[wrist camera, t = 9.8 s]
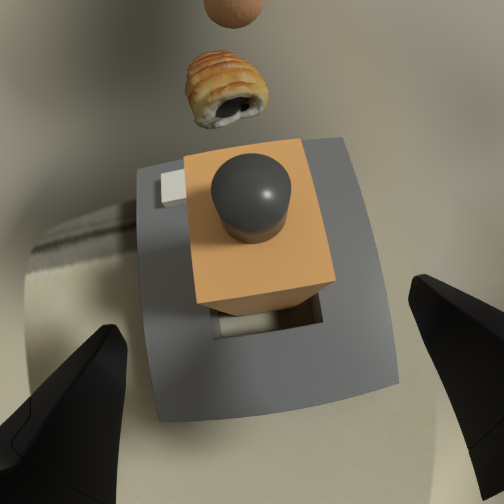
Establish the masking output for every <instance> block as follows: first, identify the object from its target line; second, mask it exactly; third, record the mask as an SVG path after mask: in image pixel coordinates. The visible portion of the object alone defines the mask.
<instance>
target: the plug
mask: <svg viewBox="0 0 504 504" xmlns="http://www.w3.org/2000/svg"><path fill="white" fill-rule="evenodd" d="M184 171H185V187H186V201H187V213H188V225H189V236H190V246H191V256H192V265H193V274H194V283H195V291H196V299H197V304H200V305H203V306H206V307H209V308H212V309H215V310H218V311H221V312H225V313H228V314H231V315H234V316H237V317H239V316H246V315H253V314H259V313H265V312H271V311H277V310H283V309H289V308H294V307H295V306H297V305H299V304H300V303H302V302H303V301H305V300H307V299H308V298H310V297H311V296H313V295H315V294H316V293H318V292H319V291H321V290H322V289H324V288H325V287H327V286H329V285H330V284H332V283H333V282H335V281H336V278H335V273H334V268H333V263H332V259H331V254H330V250H329V245H328V241H327V236H326V232H325V228H324V224H323V219H322V215H321V211H320V207H319V203H318V199H317V196H316V192H315V188H314V184H313V181H312V177H311V173H310V170H309V166H308V163H307V159H306V156H305V152H304V149H303V145H302V142H301V139H289V140H281V141H273V142H265V143H259V144H251V145H245V146H238V147H232V148H226V149H220V150H215V151H209V152H204V153H199V154H194V155H189V156H184Z"/></svg>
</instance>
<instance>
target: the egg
mask: <svg viewBox="0 0 504 504" xmlns="http://www.w3.org/2000/svg"><path fill="white" fill-rule="evenodd" d="M262 5H263V0H204V7H205V10H206V13H207V15H208V16H209V17H210V19H211V20H212V21H214V22H215V23H217V24H218V25H220V26H222V27H226V28H231V29H235V28H241V27H244V26H247V25H249V24H250V23H251V22H253V21H254V20H255V19H256V18H257V16H258V15H259V14H260V12H261V9H262Z"/></svg>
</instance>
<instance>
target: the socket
mask: <svg viewBox="0 0 504 504" xmlns="http://www.w3.org/2000/svg"><path fill="white" fill-rule="evenodd" d="M301 142H302V145H303V149H304V152H305V156H306V159H307V163H308V166H309V170H310V173H311V177H312V181H313V184H314V188H315V192H316V196H317V199H318V203H319V207H320V211H321V215H322V219H323V224H324V228H325V232H326V236H327V241H328V245H329V250H330V254H331V259H332V263H333V268H334V273H335V278H336V281H335V282H333V283H332V284H330V285H329V286H327V287H325V288H324V289H322V290H321V291H319V292H318V293H316V294H315V295H313V296H311V297H310V300H311V305H312V311H313V317H314V323H311V324H306V325H301V326H295V327H290V328H284V329H278V330H272V331H266V332H259V333H252V334H246V335H239V336H231V337H224V338H222V336H221V329H220V322H219V316H218V310H215V309H212V308H209V307H206V306H203V305H200V304H197V299H196V291H195V283H194V274H193V265H192V256H191V246H190V236H189V225H188V213H187V201H186V187H185V171H184V159H181V160H176V161H172V162H167V163H163V164H159V165H154V166H150V167H146V168H142V169H138V170H137V251H138V270H139V284H140V296H141V307H142V317H143V326H144V334H145V342H146V349H147V356H148V362H149V369H150V375H151V381H152V386H153V392H154V397H155V402H156V407H157V412H158V416H159V421H160V422H177V421H204V420H219V419H231V418H241V417H250V416H258V415H266V414H272V413H279V412H285V411H291V410H297V409H302V408H307V407H312V406H317V405H322V404H326V403H330V402H335V401H339V400H343V399H347V398H351V397H355V396H358V395H362V394H365V393H369V392H372V391H376V390H379V389H382V388H385V387H389V386H392V385H395V384H398V383H399V376H398V367H397V358H396V350H395V343H394V336H393V329H392V323H391V316H390V311H389V305H388V300H387V294H386V289H385V284H384V279H383V275H382V270H381V265H380V261H379V257H378V253H377V248H376V244H375V240H374V236H373V233H372V229H371V225H370V221H369V218H368V214H367V211H366V207H365V204H364V200H363V197H362V194H361V191H360V187H359V184H358V181H357V178H356V175H355V172H354V169H353V166H352V163H351V160H350V157H349V154H348V151H347V149H346V146H345V143H344V141H343V138H342V137H340V138H327V139H315V140H304V141H301Z"/></svg>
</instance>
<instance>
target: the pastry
mask: <svg viewBox="0 0 504 504" xmlns="http://www.w3.org/2000/svg"><path fill="white" fill-rule="evenodd" d="M185 88H186V89H185V94H186V95H187V97H188V100H189V104H190V107H191V109H192V111H193V113H194V116H195V123H196V124H197V125H198V126H200V127H204V128H206V129H209V130H212V129H217V128H220V127H224V126H227V125H229V124H231V123H233V122H235V121H237V120H239V119H242V118H249V117H253V116H256V115H259V114H260V113H261V112H262V111H264V110H265V109H266V107H267V105H268V102H269V96H268V88H267V85H266V84H265V81H264V79H263V77H262V76H261V75H260V74H259V73H258V71H257V70H256V69H255V67H254V66H252V65H251V64H250V63H249V62H246V61H245V60H244V59H242V58H240V57H238V56H237V55H235V54H234V53H232V52H228V51H226V50H220V51H212V52H205V53H201V54H200V55H199V56H197V57H196V58H195V59H194V60H193V62H192V64H191V65H190V66H189V68H188V74H187V83H186V87H185Z"/></svg>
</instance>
